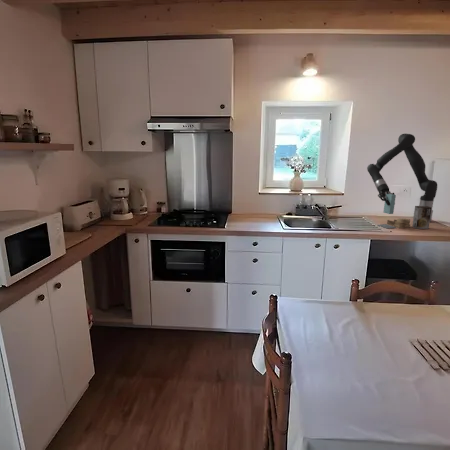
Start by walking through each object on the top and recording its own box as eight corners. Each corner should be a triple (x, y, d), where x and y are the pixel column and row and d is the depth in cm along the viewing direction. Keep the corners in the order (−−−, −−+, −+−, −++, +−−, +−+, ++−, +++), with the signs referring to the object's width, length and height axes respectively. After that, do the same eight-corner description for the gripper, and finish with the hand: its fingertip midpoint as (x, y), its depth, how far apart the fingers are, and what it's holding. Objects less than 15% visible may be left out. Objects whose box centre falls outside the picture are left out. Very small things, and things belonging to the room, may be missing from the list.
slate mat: (386, 225, 249) (386, 224, 249) (396, 228, 240) (396, 227, 240) (377, 225, 247) (377, 224, 247) (387, 228, 238) (387, 227, 238)
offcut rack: (396, 223, 255) (397, 215, 254) (409, 227, 243) (411, 219, 241) (385, 223, 252) (386, 216, 251) (398, 228, 240) (400, 220, 238)
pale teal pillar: (387, 212, 244) (389, 193, 241) (393, 213, 239) (395, 195, 235) (383, 212, 243) (385, 194, 240) (389, 214, 238) (391, 195, 234)
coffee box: (424, 227, 244) (427, 205, 240) (428, 229, 237) (432, 207, 233) (411, 226, 244) (414, 205, 241) (415, 228, 238) (418, 207, 234)
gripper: (376, 183, 241) (386, 202, 232) (392, 183, 245) (402, 201, 236) (371, 189, 247) (380, 208, 239) (386, 189, 251) (396, 207, 242)
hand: (391, 204), depth 238 cm, fingers closed on pale teal pillar, 3 cm apart
